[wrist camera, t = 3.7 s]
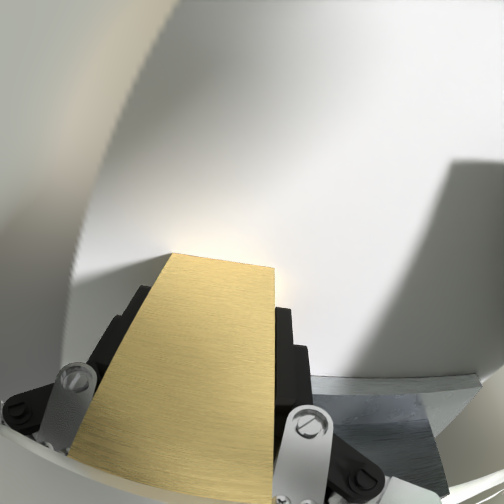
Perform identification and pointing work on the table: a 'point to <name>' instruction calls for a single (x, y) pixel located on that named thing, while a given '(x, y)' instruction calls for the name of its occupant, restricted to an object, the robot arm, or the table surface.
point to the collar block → (396, 420)
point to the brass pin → (192, 386)
